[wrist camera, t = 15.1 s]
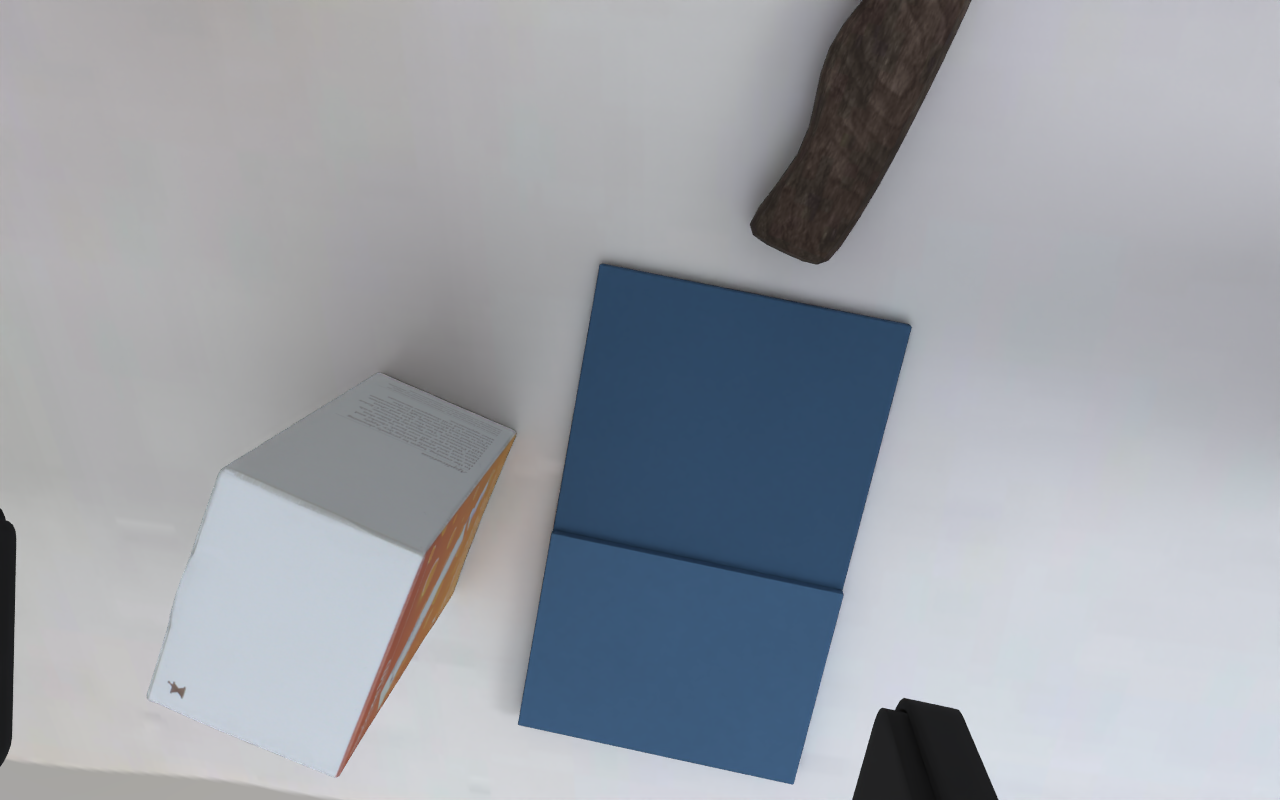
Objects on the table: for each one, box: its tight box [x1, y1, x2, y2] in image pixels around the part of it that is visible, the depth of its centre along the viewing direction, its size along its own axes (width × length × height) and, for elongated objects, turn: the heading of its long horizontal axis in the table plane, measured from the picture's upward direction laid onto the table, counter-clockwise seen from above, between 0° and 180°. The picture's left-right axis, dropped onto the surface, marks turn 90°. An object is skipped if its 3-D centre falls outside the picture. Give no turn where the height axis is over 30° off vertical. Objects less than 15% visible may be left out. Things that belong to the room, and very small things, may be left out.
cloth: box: [518, 263, 912, 784], centre depth 39 cm, size 12×20×1 cm, turn 169°
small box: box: [147, 373, 516, 778], centre depth 34 cm, size 8×6×13 cm
